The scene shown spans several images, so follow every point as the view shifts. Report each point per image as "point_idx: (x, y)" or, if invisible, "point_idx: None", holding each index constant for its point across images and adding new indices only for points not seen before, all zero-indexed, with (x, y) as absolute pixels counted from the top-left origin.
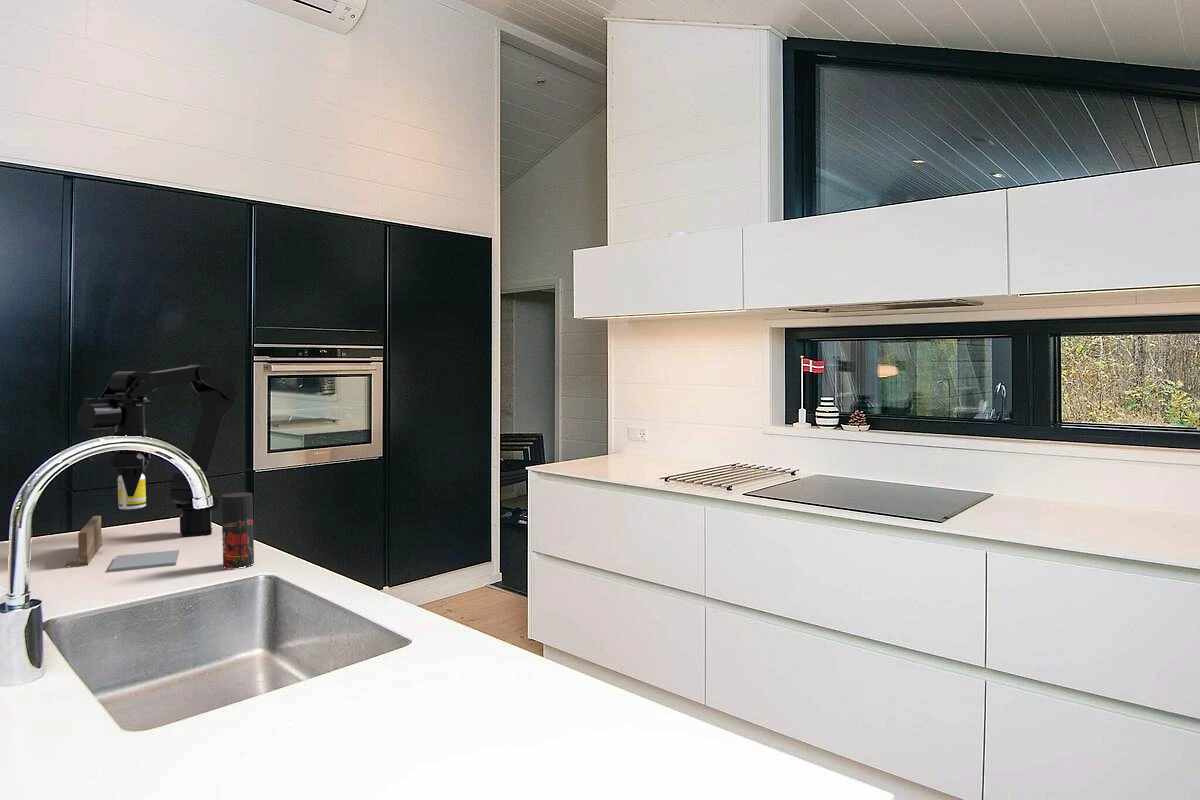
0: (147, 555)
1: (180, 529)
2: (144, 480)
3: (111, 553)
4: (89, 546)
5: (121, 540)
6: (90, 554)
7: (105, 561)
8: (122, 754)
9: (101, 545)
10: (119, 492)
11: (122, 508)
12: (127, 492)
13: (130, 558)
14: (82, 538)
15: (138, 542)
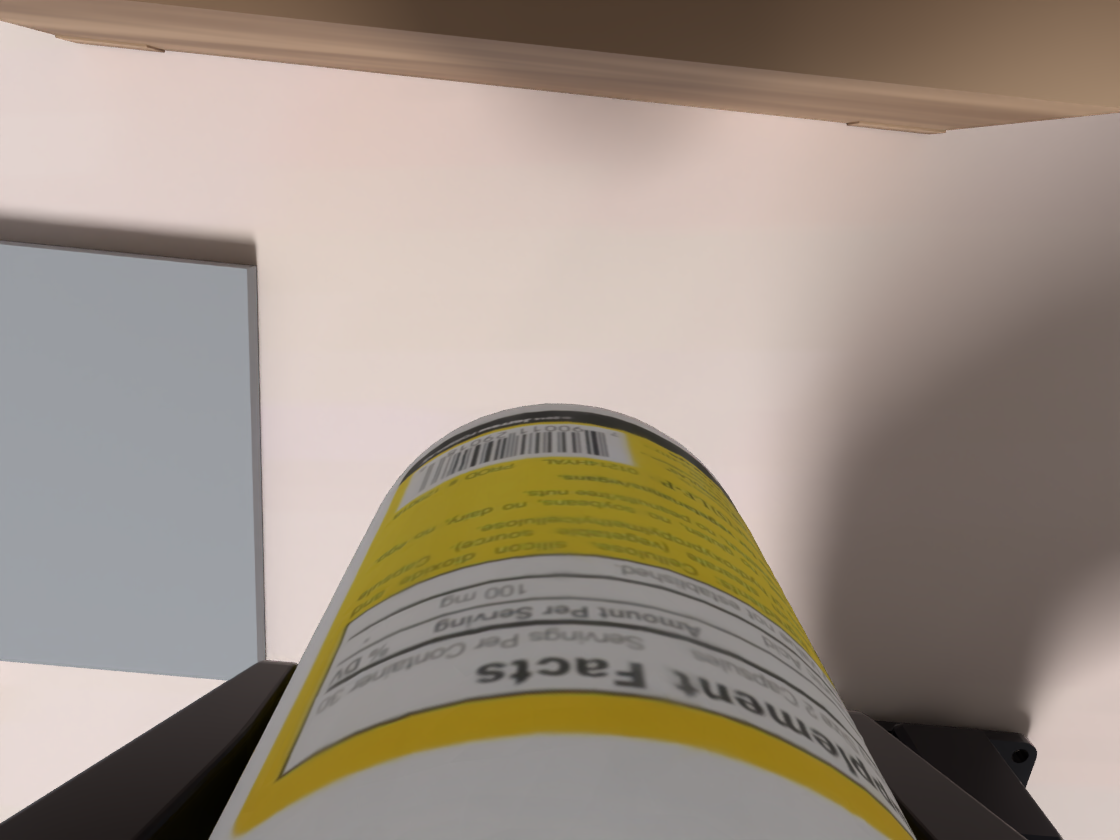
0: (150, 487)
1: (908, 745)
2: None
3: (498, 222)
4: (129, 29)
5: (1043, 295)
6: (220, 49)
7: (185, 181)
8: None
9: (892, 129)
10: (414, 552)
11: (420, 456)
12: (200, 712)
13: (91, 372)
14: None
15: (845, 425)
